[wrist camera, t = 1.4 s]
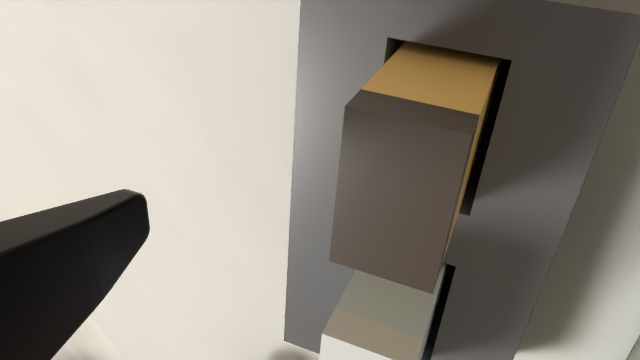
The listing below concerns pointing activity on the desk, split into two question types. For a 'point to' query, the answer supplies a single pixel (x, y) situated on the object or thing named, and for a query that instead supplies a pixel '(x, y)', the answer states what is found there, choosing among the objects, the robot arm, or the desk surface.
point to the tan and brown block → (409, 161)
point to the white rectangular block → (380, 320)
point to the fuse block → (485, 183)
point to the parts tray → (635, 351)
